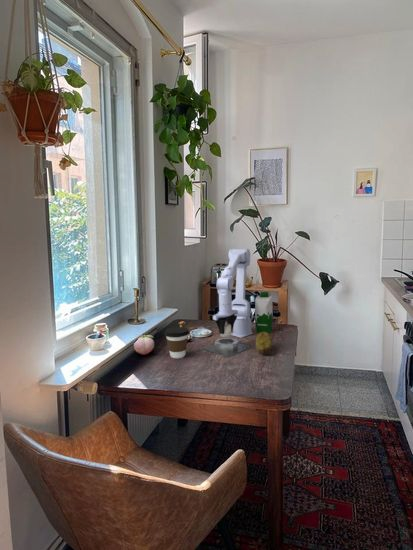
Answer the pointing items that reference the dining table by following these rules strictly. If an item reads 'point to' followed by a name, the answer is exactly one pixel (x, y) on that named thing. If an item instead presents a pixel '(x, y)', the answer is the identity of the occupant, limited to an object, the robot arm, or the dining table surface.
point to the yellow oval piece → (263, 343)
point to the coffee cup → (177, 341)
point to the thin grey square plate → (226, 347)
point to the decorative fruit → (144, 344)
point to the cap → (227, 330)
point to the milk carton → (263, 312)
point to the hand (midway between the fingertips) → (226, 332)
